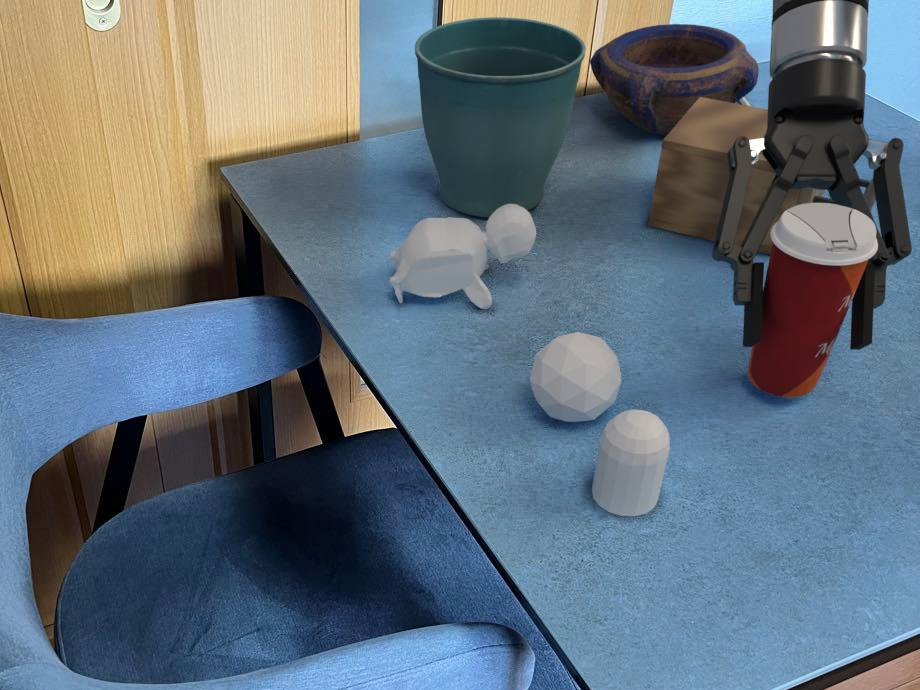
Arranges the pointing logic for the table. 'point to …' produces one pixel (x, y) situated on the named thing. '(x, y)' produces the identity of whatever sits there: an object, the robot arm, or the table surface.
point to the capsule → (631, 463)
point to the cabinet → (711, 172)
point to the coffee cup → (808, 293)
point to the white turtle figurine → (459, 253)
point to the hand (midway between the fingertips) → (806, 344)
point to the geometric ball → (576, 377)
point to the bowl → (672, 72)
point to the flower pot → (496, 107)
